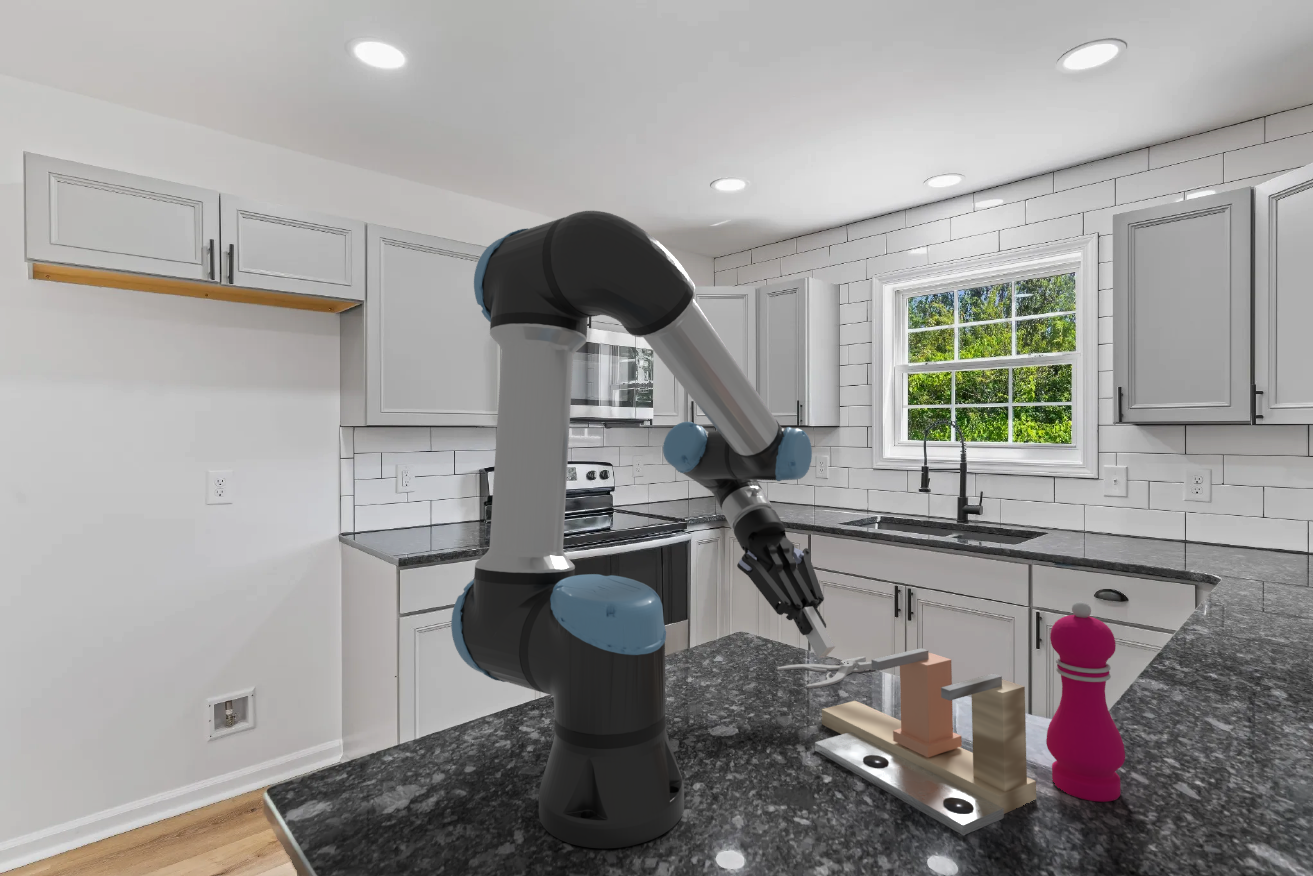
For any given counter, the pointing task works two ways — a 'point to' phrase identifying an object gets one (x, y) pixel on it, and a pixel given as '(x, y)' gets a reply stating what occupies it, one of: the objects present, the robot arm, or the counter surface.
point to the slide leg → (923, 701)
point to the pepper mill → (1084, 710)
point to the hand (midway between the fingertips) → (826, 652)
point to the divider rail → (983, 772)
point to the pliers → (842, 669)
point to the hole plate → (911, 783)
